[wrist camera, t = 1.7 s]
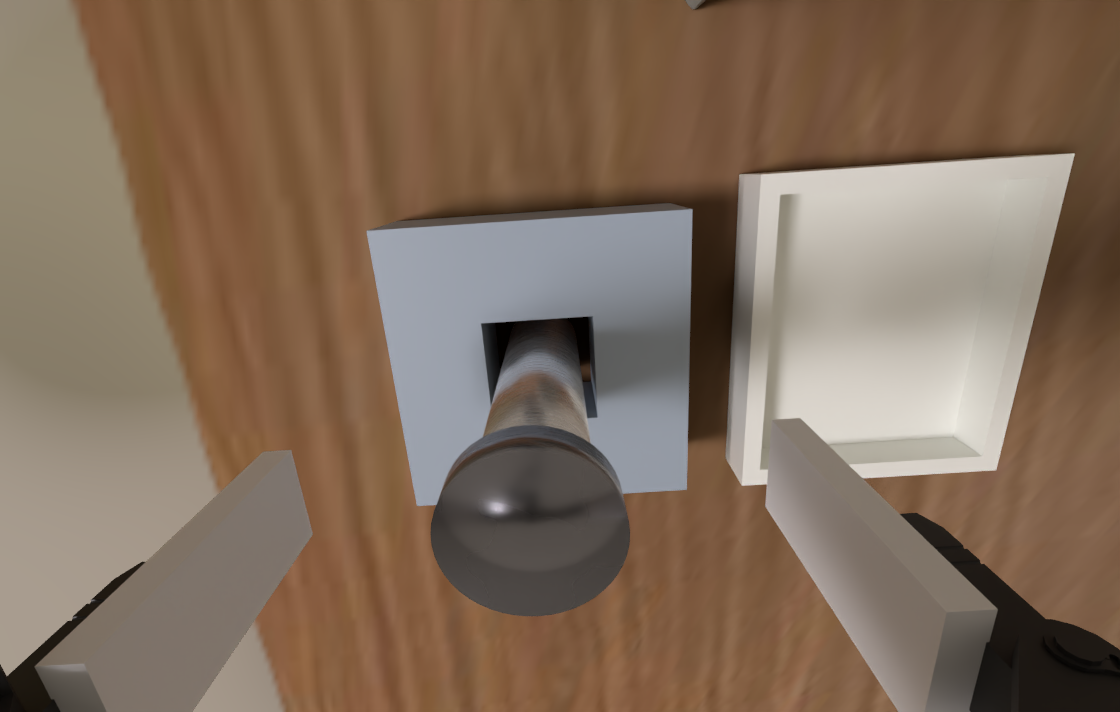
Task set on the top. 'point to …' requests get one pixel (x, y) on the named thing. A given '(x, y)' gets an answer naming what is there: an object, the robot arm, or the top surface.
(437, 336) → the socket block
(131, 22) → the top surface
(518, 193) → the top surface
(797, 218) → the tray
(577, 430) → the pin
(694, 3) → the digital clock
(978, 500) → the top surface
